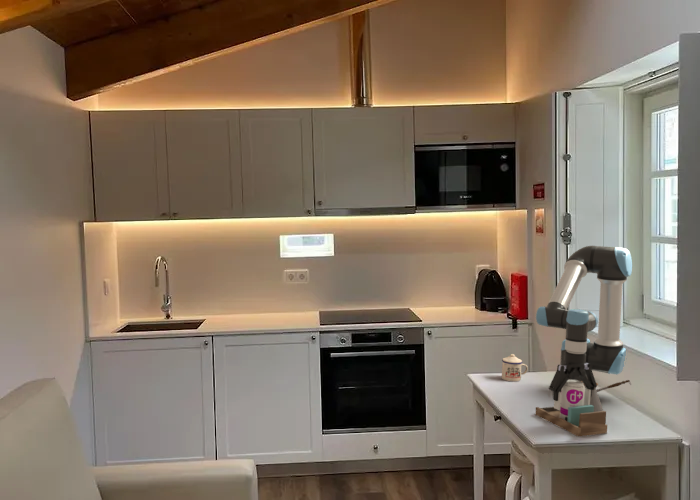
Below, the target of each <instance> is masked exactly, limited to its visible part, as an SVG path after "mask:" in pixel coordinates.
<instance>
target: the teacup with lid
mask: <svg viewBox="0 0 700 500" xmlns="http://www.w3.org/2000/svg"><path fill="white" fill-rule="evenodd" d="M501 361H502V362H501V363H502V367H501V379H502V380H504V381H506V382H519V381H521V379H522V375H525V374H526V373H528V370H529V368H528V365H527V364H526V363H523V360H522V359H520V358H518V357H517V356H516V355H515V354H514V353H511V354H510V355H508V356H506V357H503V358H502V360H501ZM523 366H524V367H525V370H524V371H523V372H522V367H523Z"/></svg>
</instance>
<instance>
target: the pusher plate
mask: <svg viewBox="0 0 700 500" xmlns="http://www.w3.org/2000/svg"><path fill="white" fill-rule="evenodd" d="M589 412H594V406H593V405H585V406H575V407H568V421H567V422H569V423H571V424H573V425H575V426H579V419H580V413H589Z"/></svg>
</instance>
